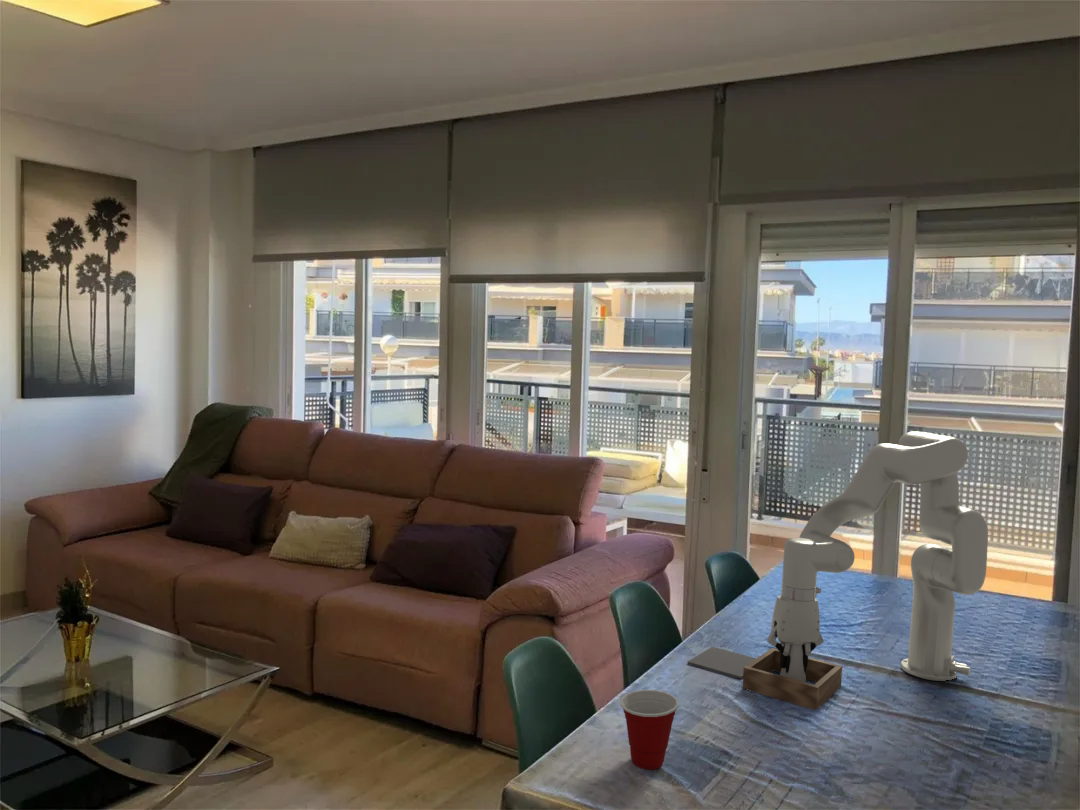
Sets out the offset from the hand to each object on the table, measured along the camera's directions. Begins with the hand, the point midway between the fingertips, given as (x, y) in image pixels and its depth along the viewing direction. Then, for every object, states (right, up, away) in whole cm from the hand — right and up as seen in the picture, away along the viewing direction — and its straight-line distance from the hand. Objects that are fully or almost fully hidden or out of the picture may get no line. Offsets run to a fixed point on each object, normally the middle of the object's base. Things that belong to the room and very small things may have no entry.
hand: (793, 669), depth 196 cm
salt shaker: (0, -4, 0) cm, 4 cm away
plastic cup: (-39, -6, -38) cm, 54 cm away
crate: (0, -4, 0) cm, 4 cm away
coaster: (-12, -3, +14) cm, 19 cm away
